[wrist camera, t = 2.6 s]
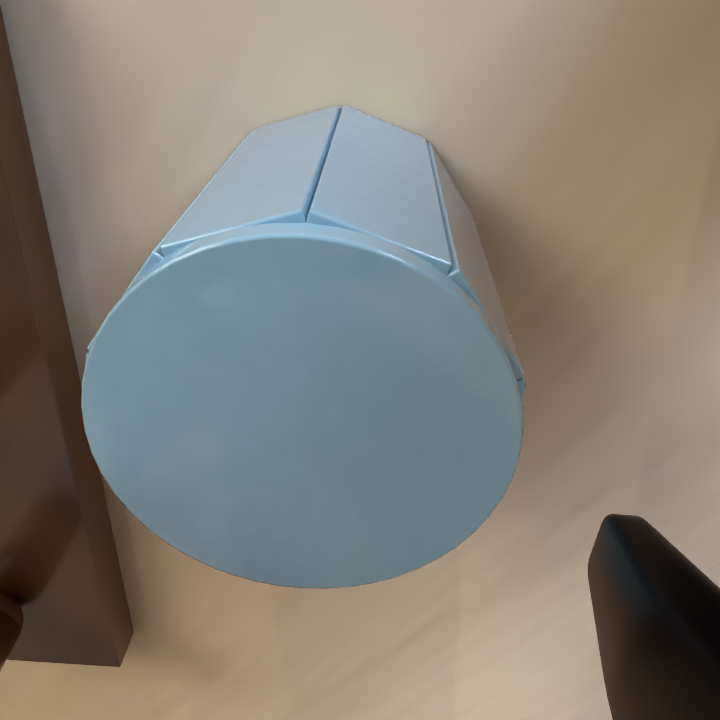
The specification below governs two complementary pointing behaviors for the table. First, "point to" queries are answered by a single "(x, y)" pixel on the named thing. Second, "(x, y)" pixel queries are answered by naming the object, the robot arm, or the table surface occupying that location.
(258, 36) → the table surface
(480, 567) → the table surface
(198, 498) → the cup
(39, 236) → the rack
